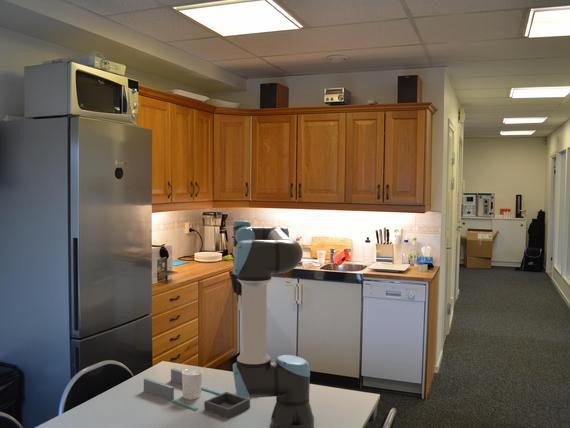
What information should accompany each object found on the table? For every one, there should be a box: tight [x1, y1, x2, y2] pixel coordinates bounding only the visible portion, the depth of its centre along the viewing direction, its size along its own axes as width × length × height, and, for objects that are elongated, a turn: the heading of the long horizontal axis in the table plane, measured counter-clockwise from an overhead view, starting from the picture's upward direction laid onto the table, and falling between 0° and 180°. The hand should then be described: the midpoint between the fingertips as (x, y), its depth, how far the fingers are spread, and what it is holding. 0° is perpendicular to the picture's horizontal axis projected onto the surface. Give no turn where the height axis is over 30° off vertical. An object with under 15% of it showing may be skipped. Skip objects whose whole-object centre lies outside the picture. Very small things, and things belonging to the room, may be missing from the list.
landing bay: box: [171, 386, 222, 411], centre depth 206 cm, size 13×17×1 cm
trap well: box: [203, 391, 251, 419], centre depth 198 cm, size 12×12×3 cm
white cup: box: [181, 367, 203, 400], centre depth 208 cm, size 8×8×10 cm
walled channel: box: [143, 367, 183, 402], centre depth 215 cm, size 16×16×5 cm
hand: (241, 309), depth 230 cm, fingers closed
